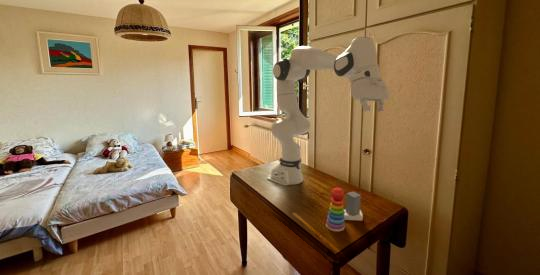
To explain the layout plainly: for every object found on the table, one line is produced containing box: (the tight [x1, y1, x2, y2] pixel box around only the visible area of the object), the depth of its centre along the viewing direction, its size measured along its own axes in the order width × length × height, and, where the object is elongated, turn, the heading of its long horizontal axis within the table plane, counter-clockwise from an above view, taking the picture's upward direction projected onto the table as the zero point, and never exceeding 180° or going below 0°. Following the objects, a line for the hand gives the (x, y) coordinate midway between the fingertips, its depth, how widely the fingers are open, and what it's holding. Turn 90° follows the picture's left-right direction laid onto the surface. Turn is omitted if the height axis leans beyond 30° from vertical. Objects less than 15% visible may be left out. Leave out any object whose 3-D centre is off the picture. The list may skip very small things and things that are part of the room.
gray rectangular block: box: [345, 191, 362, 216], centre depth 112 cm, size 4×4×11 cm
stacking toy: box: [325, 187, 346, 232], centre depth 106 cm, size 8×8×19 cm
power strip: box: [344, 208, 364, 221], centre depth 114 cm, size 11×5×4 cm, turn 83°
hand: (374, 111), depth 98 cm, fingers open, 8 cm apart
